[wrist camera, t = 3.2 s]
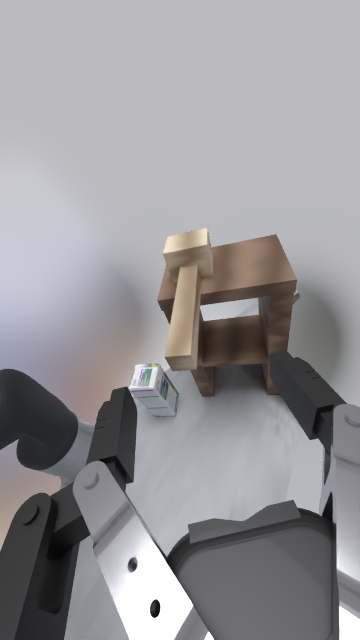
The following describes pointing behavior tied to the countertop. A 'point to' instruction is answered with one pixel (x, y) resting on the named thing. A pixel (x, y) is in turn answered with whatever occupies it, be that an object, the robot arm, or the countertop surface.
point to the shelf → (250, 331)
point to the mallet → (186, 294)
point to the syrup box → (154, 390)
